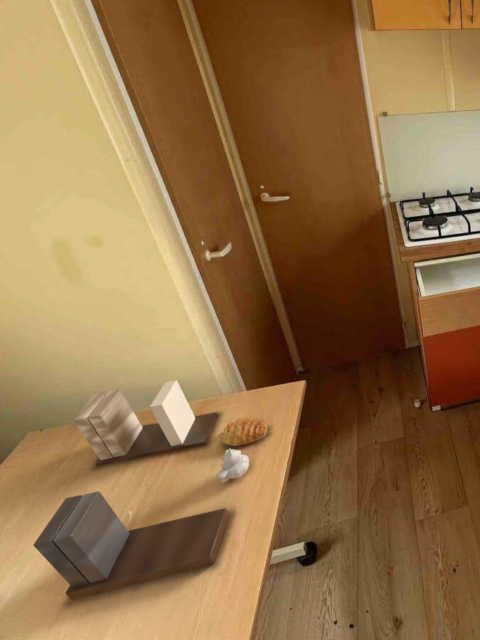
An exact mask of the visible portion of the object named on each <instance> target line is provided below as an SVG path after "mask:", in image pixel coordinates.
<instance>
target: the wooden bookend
mask: <svg viewBox="0 0 480 640" xmlns="http://www.w3.org/2000/svg"><path fill="white" fill-rule="evenodd" d="M194 416H195V420H194V422H193V424H192V426H191V428H190V430H189V432H188V434H187V436H186V438H185V440H184V442H183V444H180V445H175V446H171V445H170V443H169V441H168V439H167V438H166V436H165V434H164V432H163V430H162V429H161V427H160V425H159V423H158V422H156V423H151V424H147V425H142V423H141V422H140V420H139V419H138V418H137V415H136V414H135V412H134V410H133V408H132V407H131V405H130V404H129V401H128V400H127V398H126V397H125V395H124V393H123V391H122V390H121V388H120V389H114V390H113V389H112V390H108V391H102V392H96V393H94V394H93V395H92V396H91V398H90V399H89V400H88V401H87V403H85V405H84V407H82V409H81V410H80V411H79V412H78V413H77V415H76V416H75V417H74V418H73V420H72V421H73V423H75V425H76V426H77V428H78V430H79V431H80V433H81V434H82V435H83V437H84V438H85V440H86V441H87V442H88V444H89V446H90V447H91V448H92V451H94V453H95V455H96V456H97V457H98V459H97V460H96V461H95V465H96V467H100V466H105V465H111V464H115V463H121V462H125V461H130V460H131V461H132V460H135V459H140V458H146V457H151V456H155V455H161V454H165V453H170V452H176V451H180V450H181V451H182V450H185V449H191V448H195V447H201V446H206V444H207V442H208V440H209V438H210V435H211V434H212V431H213V430H214V427H215V424H216V422H217V420H218V417H219V412H218V411H216V412H211V413H206V414H201V415H200V414H199V415H194Z"/></svg>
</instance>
